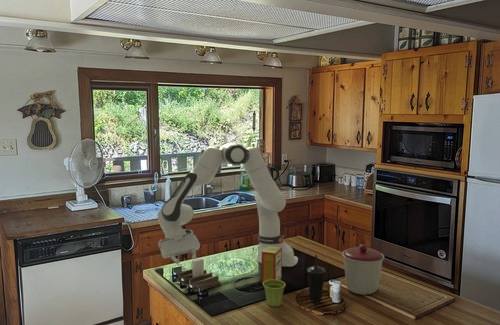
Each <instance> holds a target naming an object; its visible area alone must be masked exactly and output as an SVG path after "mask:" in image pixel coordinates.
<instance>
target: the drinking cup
mask: <svg viewBox="0 0 500 325" xmlns="http://www.w3.org/2000/svg"><path fill="white" fill-rule="evenodd" d="M314 259H315V264H314V265H313V266H309V267H307V268H306V271H307V272H306V273H307V281H308V282H307V283H308V293H309V294H308V295H309V301H310V300H311V301H313V302H320V301H321V302H322V300H323V299H322V298H323V297H322V296H323V290H324V289H323V288H324V280H325V273H326V269H325V268H324V267H321V266H318V254H315V258H314ZM321 302H320V303H321Z"/></svg>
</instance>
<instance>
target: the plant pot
mask: <svg viewBox="0 0 500 325" xmlns="http://www.w3.org/2000/svg"><path fill="white" fill-rule="evenodd" d="M262 286H263V288H264V293H265V300H266V305H267V306H268V307H272V308H273V307H279V306H281V305H282V302H283V301H282V300H283V295H284V290H285V287H286V286H287V285H286V283H285V282H284V281H283V280H282V279H281V280H266V281H264V282H263V284H262Z"/></svg>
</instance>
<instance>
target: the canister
mask: <svg viewBox="0 0 500 325" xmlns="http://www.w3.org/2000/svg"><path fill="white" fill-rule="evenodd" d="M341 255H342V257H343V264H344V277H345V284H346V287H347V289H348V290H349V291H350V292H352V293H354V294H357V295H362V296H368V295H367V294H369V295H373V294H374V292H375V293H376V292H377V290H378V289H379V284H380V278H381V274H382V266H383V261H384V260H385V256H384V254H383V253H382V252H380V251H378V250H376V249H373V248H371V247H368V246H367V245H366V244H362V243H361V244H359V246H355V247H349V248H347V249H345V250H343V251H342V253H341ZM372 293H373V294H372Z"/></svg>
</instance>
